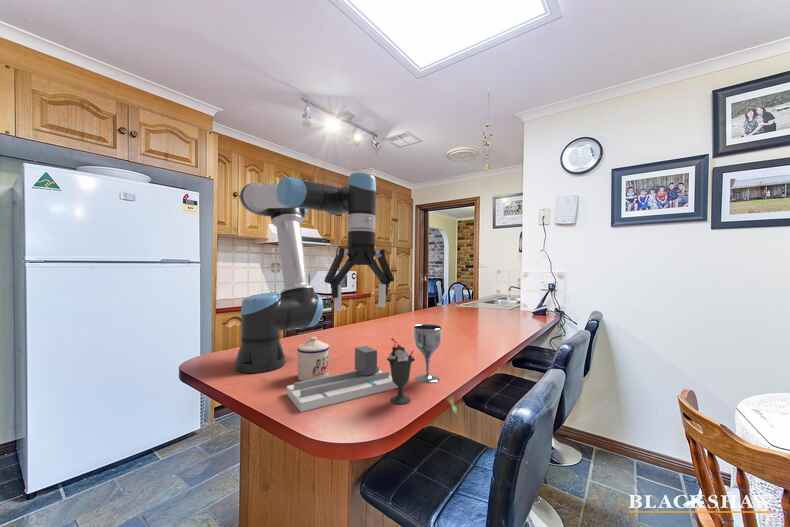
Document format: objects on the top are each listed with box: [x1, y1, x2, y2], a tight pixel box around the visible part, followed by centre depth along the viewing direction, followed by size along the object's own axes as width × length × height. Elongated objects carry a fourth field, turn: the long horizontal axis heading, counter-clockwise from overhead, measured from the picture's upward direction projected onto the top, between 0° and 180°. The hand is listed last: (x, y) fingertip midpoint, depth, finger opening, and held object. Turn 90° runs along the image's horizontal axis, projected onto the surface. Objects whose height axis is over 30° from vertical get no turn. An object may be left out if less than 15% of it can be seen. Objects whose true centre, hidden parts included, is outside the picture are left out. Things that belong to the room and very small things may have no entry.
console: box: [286, 365, 398, 413], centre depth 83 cm, size 12×26×4 cm, turn 123°
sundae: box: [386, 338, 416, 406], centre depth 77 cm, size 7×7×15 cm
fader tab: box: [354, 345, 378, 377], centre depth 86 cm, size 6×4×8 cm, turn 33°
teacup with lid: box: [297, 336, 331, 381], centre depth 94 cm, size 12×9×12 cm
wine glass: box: [413, 323, 442, 384], centre depth 92 cm, size 8×8×15 cm
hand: (360, 308), depth 87 cm, fingers open, 13 cm apart
